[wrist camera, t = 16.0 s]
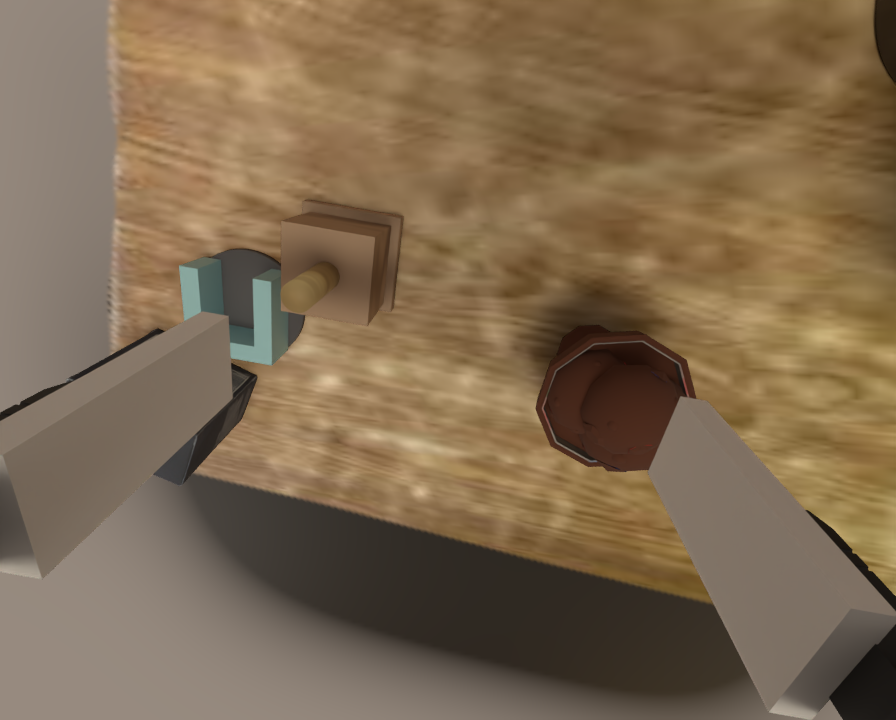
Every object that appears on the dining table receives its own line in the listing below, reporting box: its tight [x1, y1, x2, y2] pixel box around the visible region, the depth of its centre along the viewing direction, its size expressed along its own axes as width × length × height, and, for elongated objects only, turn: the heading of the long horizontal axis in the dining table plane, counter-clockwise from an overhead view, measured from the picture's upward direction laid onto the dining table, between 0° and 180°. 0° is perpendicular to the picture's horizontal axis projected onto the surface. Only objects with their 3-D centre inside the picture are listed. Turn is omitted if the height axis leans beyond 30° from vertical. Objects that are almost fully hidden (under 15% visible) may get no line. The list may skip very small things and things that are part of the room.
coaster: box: [212, 249, 305, 346], centre depth 41 cm, size 10×10×1 cm
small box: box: [66, 329, 257, 486], centre depth 40 cm, size 11×6×10 cm, turn 63°
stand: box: [280, 200, 404, 326], centre depth 33 cm, size 8×8×12 cm
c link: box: [179, 257, 288, 365], centre depth 39 cm, size 8×8×4 cm
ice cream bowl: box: [536, 325, 696, 472], centre depth 34 cm, size 11×11×15 cm
